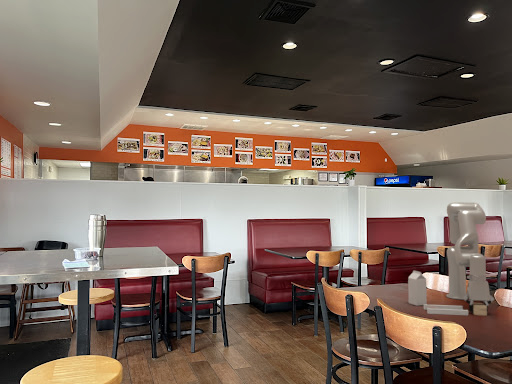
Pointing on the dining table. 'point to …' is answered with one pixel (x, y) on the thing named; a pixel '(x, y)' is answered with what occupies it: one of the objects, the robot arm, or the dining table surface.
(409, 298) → the milk carton
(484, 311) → the maple block
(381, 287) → the dining table surface
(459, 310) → the channel
